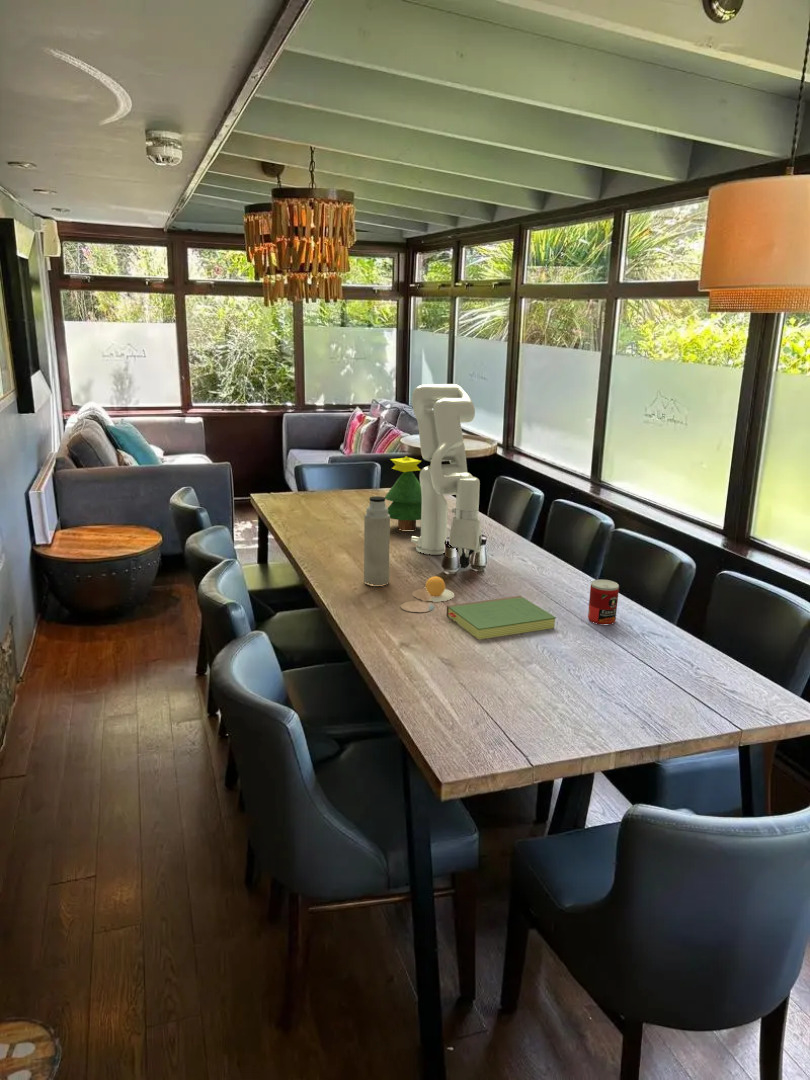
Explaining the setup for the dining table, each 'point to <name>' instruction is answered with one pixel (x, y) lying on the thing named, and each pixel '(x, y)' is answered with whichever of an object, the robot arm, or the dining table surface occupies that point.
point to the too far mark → (431, 607)
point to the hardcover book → (500, 617)
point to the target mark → (443, 596)
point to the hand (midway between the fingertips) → (464, 566)
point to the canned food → (603, 601)
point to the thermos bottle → (376, 542)
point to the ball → (435, 586)
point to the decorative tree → (405, 494)
